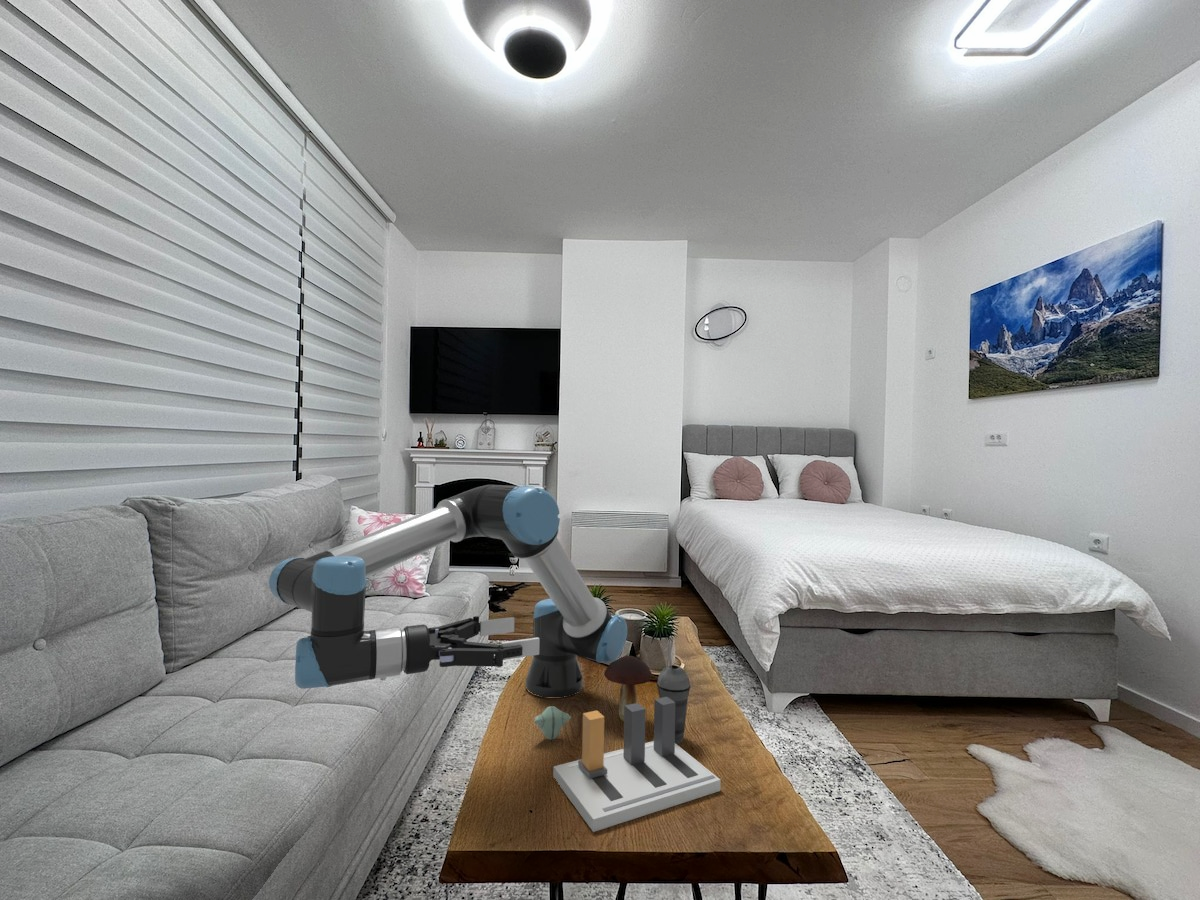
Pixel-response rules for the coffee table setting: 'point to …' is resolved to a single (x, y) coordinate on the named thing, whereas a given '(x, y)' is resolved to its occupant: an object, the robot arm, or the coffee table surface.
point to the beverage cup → (675, 693)
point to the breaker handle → (593, 745)
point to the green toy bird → (551, 721)
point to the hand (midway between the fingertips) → (525, 634)
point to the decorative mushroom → (628, 678)
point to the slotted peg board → (638, 773)
